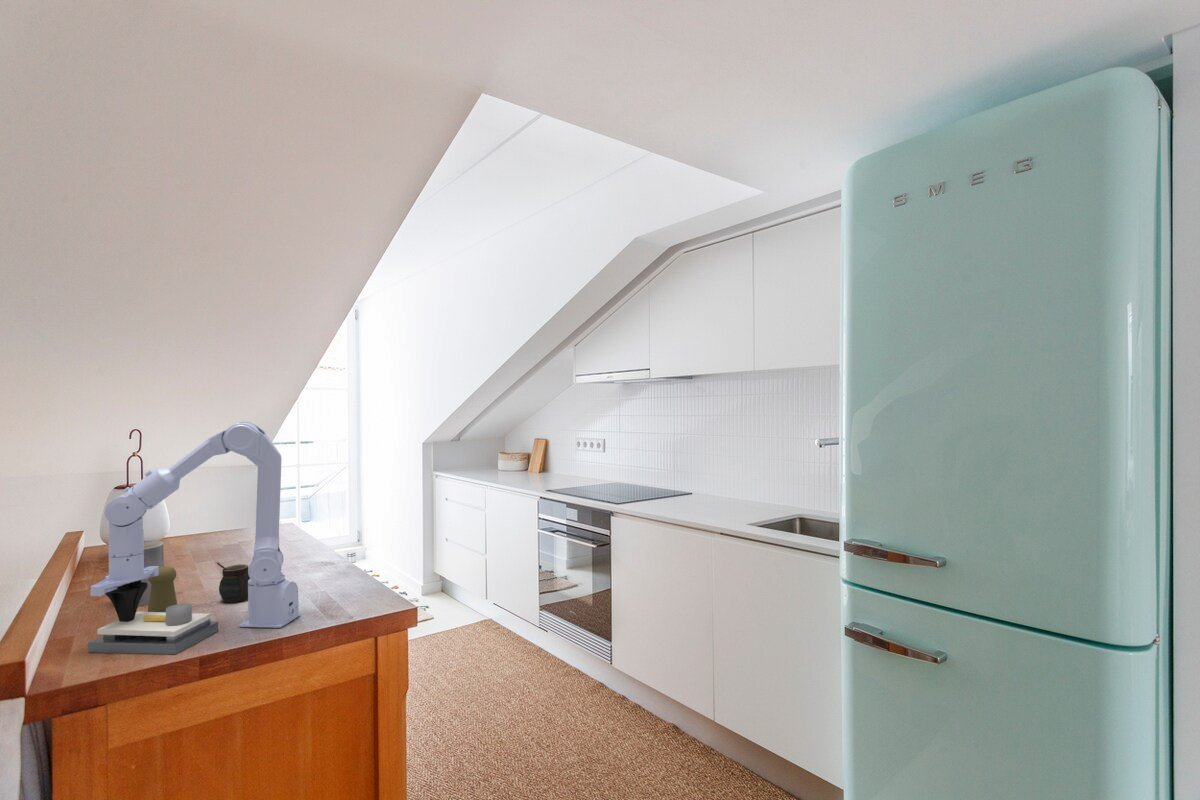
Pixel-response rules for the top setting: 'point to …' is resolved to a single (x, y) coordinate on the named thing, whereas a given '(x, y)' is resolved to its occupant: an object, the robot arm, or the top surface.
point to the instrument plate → (158, 622)
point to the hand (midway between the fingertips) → (126, 620)
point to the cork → (162, 590)
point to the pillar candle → (151, 564)
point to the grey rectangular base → (152, 641)
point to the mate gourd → (234, 583)
